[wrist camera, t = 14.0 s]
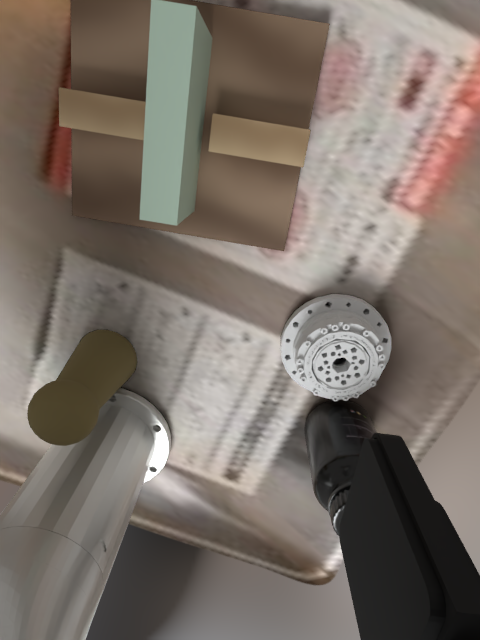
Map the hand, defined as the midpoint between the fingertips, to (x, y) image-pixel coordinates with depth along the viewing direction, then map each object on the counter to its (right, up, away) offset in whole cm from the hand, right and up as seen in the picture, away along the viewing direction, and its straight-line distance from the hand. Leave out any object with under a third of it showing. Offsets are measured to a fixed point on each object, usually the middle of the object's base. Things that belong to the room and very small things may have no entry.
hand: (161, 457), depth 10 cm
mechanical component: (+11, +1, +29) cm, 31 cm away
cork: (-11, 0, +31) cm, 33 cm away
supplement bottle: (+12, -7, +33) cm, 35 cm away
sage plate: (-2, +18, +22) cm, 28 cm away
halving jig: (-2, +18, +23) cm, 29 cm away
